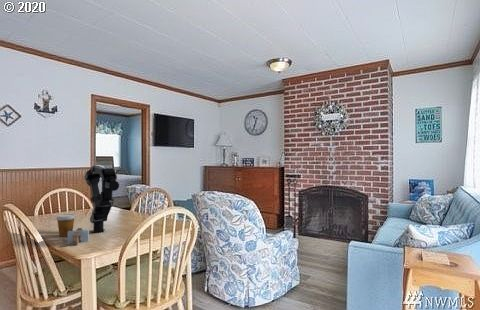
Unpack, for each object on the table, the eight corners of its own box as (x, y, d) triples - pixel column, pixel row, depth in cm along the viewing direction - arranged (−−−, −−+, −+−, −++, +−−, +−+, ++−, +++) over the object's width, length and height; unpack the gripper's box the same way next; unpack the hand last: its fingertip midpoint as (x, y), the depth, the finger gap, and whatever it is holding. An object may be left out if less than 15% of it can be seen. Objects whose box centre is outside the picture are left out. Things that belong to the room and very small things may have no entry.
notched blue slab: (68, 242, 158) (68, 231, 158) (88, 240, 161) (89, 229, 161) (67, 243, 155) (67, 232, 155) (88, 241, 159) (88, 230, 159)
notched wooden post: (78, 238, 164) (78, 228, 164) (81, 238, 165) (82, 227, 165) (72, 245, 151) (72, 234, 151) (76, 245, 152) (77, 234, 152)
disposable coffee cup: (78, 233, 175) (78, 213, 175) (69, 237, 165) (69, 217, 165) (62, 233, 175) (62, 213, 175) (52, 237, 165) (52, 217, 165)
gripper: (94, 187, 176) (94, 213, 176) (89, 191, 159) (89, 219, 159) (114, 187, 180) (114, 212, 180) (111, 191, 162) (111, 218, 162)
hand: (107, 215), depth 170 cm, fingers open, 9 cm apart
